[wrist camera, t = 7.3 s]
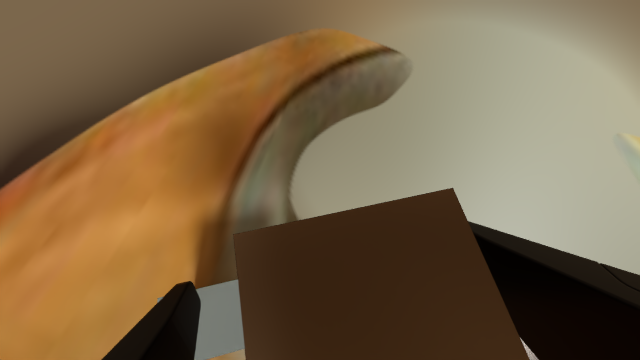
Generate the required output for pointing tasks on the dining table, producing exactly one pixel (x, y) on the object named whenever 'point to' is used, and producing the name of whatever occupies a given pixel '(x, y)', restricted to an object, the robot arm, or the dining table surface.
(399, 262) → the walnut post
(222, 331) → the notched rail
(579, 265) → the robot arm
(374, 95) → the dining table surface
